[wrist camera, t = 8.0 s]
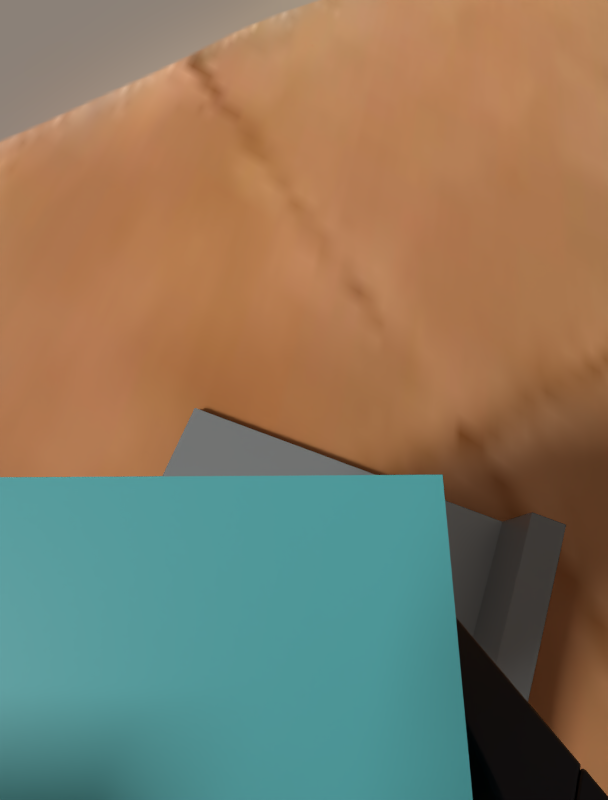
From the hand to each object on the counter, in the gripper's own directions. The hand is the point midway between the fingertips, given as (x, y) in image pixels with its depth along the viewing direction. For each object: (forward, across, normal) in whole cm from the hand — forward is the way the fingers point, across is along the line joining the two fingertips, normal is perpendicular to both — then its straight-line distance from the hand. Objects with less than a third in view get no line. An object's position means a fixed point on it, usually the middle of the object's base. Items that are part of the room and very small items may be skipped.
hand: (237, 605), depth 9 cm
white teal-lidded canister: (+4, 0, +6) cm, 7 cm away
